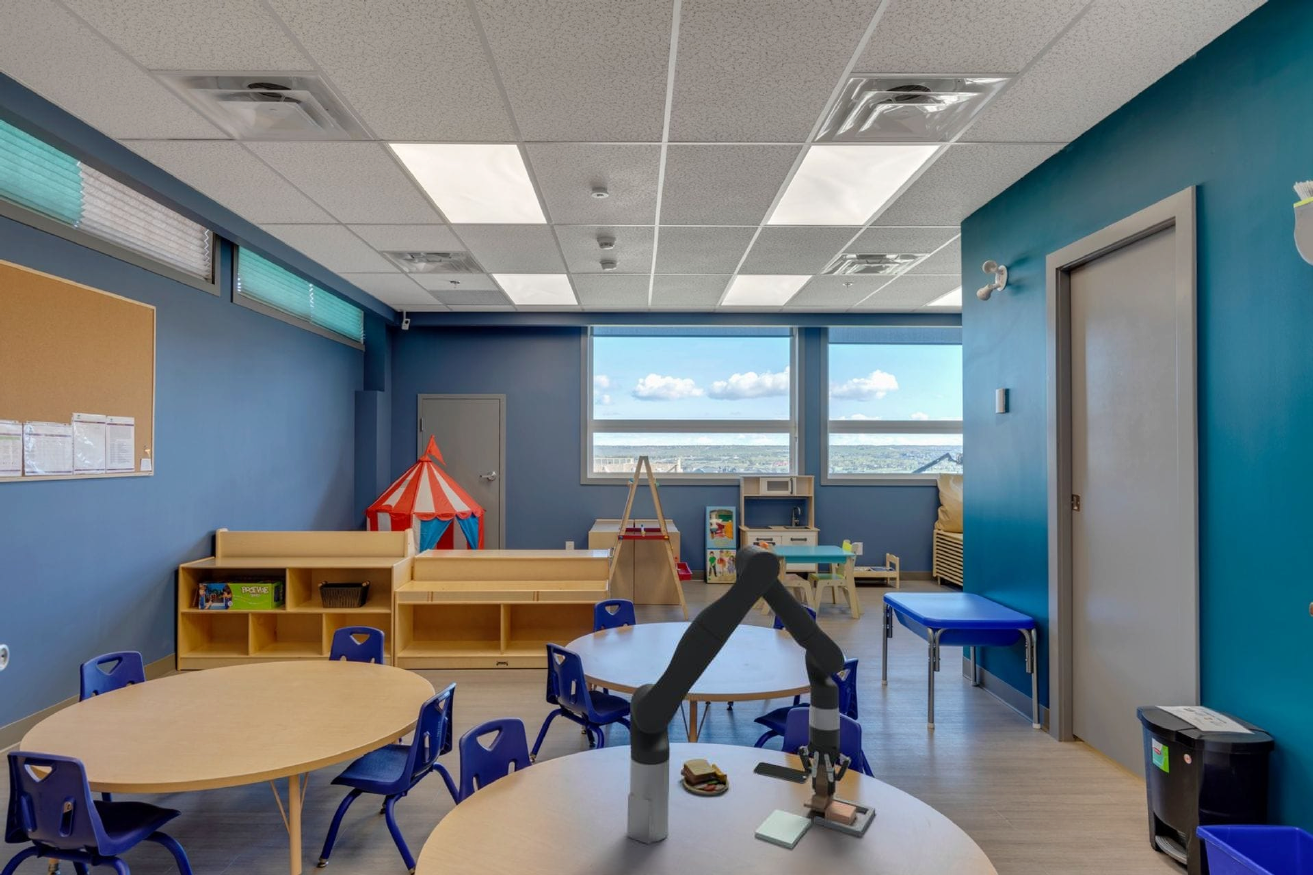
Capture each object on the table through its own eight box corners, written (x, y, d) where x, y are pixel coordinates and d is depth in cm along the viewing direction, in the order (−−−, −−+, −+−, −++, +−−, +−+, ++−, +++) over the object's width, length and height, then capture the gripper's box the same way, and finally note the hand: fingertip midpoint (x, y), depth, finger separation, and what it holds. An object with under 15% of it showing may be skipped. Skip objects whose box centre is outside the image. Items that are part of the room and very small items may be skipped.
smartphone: (804, 783, 183) (752, 771, 189) (804, 785, 183) (752, 773, 189) (811, 772, 190) (760, 761, 196) (811, 774, 190) (760, 763, 196)
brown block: (823, 812, 163) (826, 764, 165) (803, 806, 166) (806, 759, 168) (832, 805, 170) (835, 759, 172) (813, 799, 172) (816, 754, 175)
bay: (860, 836, 156) (860, 831, 156) (814, 822, 162) (814, 817, 162) (875, 813, 168) (875, 808, 168) (831, 800, 174) (831, 796, 174)
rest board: (791, 848, 151) (791, 843, 151) (754, 836, 156) (755, 831, 156) (811, 823, 162) (811, 819, 162) (776, 813, 167) (776, 808, 167)
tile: (849, 827, 161) (849, 816, 161) (824, 820, 164) (825, 809, 164) (856, 817, 166) (856, 806, 166) (832, 810, 169) (832, 800, 169)
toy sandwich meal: (693, 799, 173) (693, 781, 173) (674, 777, 186) (675, 760, 186) (736, 793, 177) (737, 774, 178) (715, 771, 190) (715, 754, 190)
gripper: (792, 721, 170) (791, 791, 169) (847, 733, 162) (847, 807, 161) (802, 713, 176) (802, 780, 175) (856, 724, 169) (855, 794, 167)
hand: (823, 792), depth 168 cm, fingers closed on brown block, 3 cm apart
